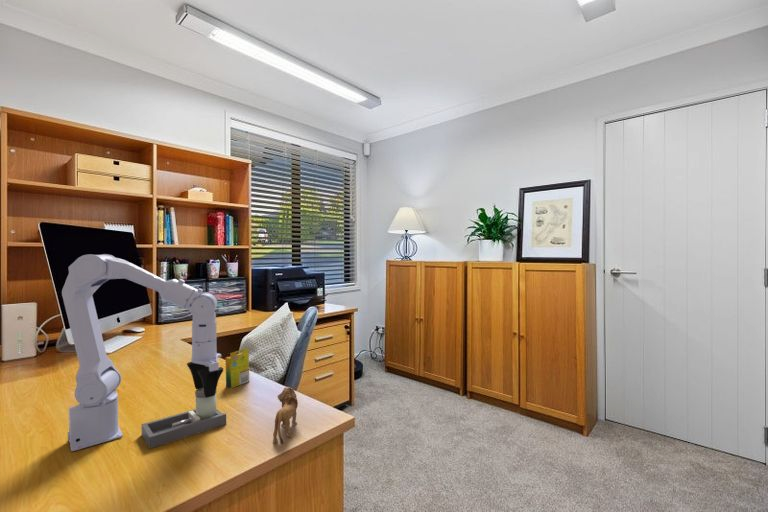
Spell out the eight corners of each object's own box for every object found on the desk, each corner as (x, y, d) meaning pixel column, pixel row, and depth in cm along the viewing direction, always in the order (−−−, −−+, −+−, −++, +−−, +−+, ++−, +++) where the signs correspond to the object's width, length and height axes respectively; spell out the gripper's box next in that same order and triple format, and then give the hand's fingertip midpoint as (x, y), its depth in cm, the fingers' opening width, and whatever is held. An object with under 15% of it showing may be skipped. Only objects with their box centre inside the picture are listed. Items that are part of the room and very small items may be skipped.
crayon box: (244, 380, 127) (243, 346, 127) (249, 381, 125) (249, 347, 125) (225, 387, 121) (224, 351, 120) (231, 388, 119) (230, 353, 119)
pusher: (175, 434, 88) (175, 425, 88) (169, 425, 92) (168, 417, 92) (200, 426, 91) (200, 418, 91) (192, 418, 96) (192, 410, 96)
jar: (200, 427, 92) (199, 395, 92) (192, 420, 95) (192, 390, 95) (220, 420, 95) (219, 389, 95) (212, 414, 99) (211, 385, 99)
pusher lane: (149, 448, 83) (149, 437, 83) (141, 434, 89) (141, 424, 89) (226, 424, 95) (226, 414, 94) (214, 413, 101) (214, 403, 101)
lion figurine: (278, 418, 97) (277, 385, 97) (298, 417, 98) (298, 383, 98) (271, 448, 83) (270, 408, 83) (295, 445, 84) (294, 406, 84)
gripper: (230, 342, 92) (231, 395, 93) (210, 333, 103) (211, 381, 103) (200, 347, 87) (201, 403, 88) (183, 337, 98) (183, 387, 98)
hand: (204, 392), depth 95 cm, fingers open, 7 cm apart
